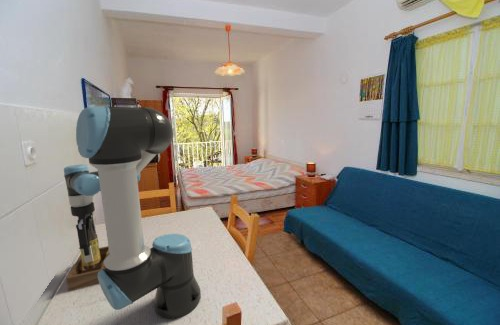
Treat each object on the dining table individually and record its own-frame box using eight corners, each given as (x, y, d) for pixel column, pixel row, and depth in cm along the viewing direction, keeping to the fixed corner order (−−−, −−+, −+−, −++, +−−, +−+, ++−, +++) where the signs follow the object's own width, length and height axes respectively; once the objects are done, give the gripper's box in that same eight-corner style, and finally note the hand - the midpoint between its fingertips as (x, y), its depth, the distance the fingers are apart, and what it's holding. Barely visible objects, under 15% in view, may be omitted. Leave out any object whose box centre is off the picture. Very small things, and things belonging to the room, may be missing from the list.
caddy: (135, 276, 93) (133, 262, 92) (69, 293, 85) (66, 278, 84) (138, 251, 111) (136, 240, 110) (84, 263, 103) (82, 251, 102)
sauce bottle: (90, 271, 92) (82, 225, 88) (79, 269, 94) (70, 223, 90) (105, 262, 98) (98, 218, 94) (94, 260, 100) (87, 216, 96)
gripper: (86, 210, 84) (96, 267, 88) (98, 195, 101) (106, 244, 105) (61, 214, 81) (72, 273, 85) (78, 198, 98) (87, 247, 102)
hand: (91, 257), depth 95 cm, fingers closed on sauce bottle, 6 cm apart
